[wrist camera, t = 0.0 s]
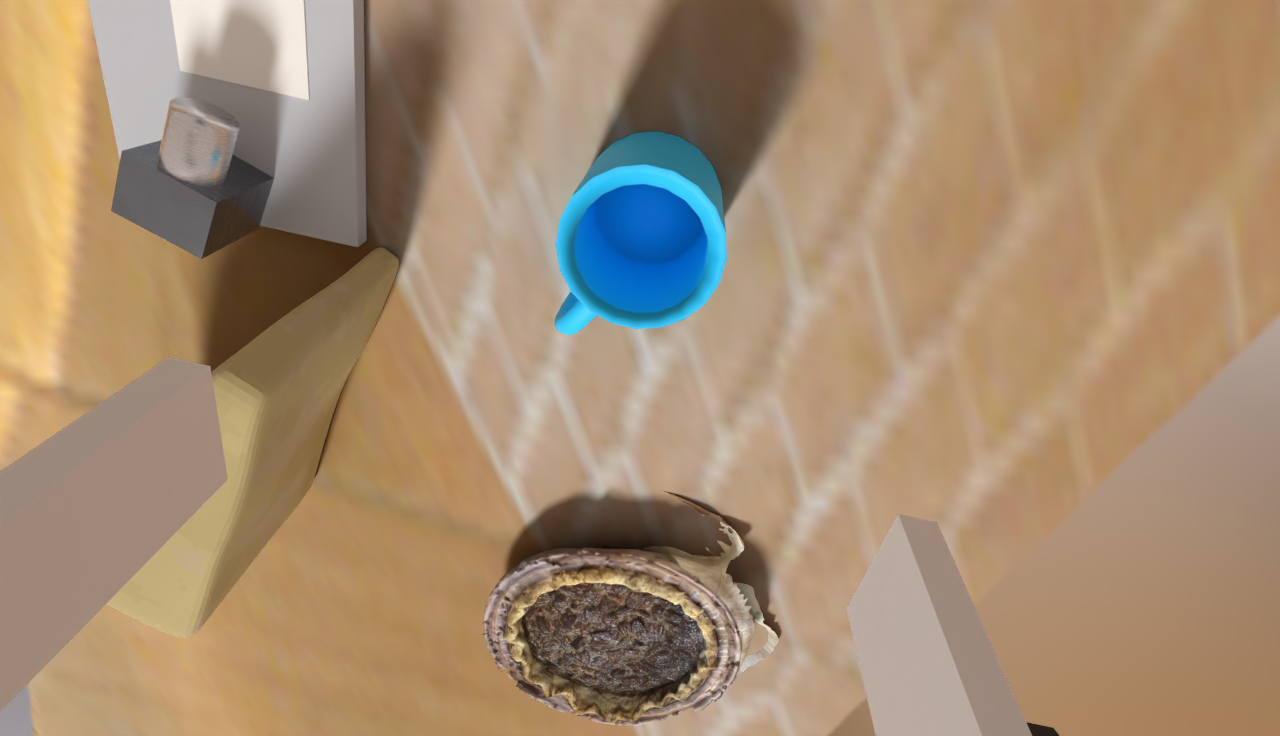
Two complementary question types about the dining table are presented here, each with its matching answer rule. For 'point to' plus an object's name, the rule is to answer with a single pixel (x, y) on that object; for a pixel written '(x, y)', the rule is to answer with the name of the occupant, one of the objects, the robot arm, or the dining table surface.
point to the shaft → (192, 181)
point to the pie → (624, 629)
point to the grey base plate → (253, 93)
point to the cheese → (262, 446)
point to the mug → (642, 235)
